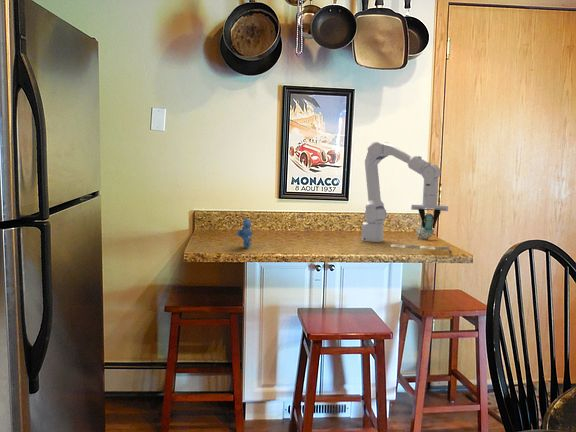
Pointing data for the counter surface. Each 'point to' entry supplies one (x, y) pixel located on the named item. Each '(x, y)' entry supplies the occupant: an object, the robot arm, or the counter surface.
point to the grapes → (245, 233)
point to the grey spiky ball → (423, 233)
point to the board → (422, 247)
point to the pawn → (428, 223)
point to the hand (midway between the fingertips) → (428, 227)
